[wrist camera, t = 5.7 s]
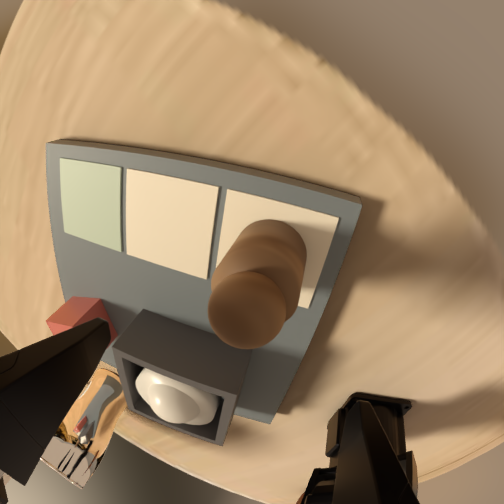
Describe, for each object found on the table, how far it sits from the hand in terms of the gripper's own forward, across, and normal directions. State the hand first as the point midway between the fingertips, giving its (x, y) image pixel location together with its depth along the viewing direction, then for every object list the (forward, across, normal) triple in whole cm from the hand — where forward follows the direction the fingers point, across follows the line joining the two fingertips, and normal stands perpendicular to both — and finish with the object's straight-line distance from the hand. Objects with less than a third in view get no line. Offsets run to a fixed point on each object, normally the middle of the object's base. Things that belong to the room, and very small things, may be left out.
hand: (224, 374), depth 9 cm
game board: (+10, +7, +7) cm, 14 cm away
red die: (+9, +14, +11) cm, 20 cm away
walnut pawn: (+9, 0, 0) cm, 9 cm away
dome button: (+7, +4, +12) cm, 15 cm away
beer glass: (+11, +15, +25) cm, 31 cm away
